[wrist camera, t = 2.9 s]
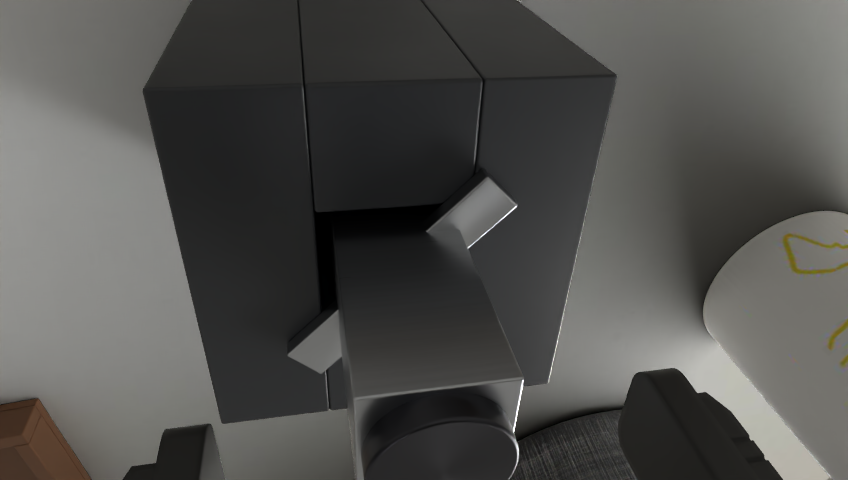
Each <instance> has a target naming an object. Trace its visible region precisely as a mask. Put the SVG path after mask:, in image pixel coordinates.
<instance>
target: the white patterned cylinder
mask: <svg viewBox="0 0 848 480" xmlns="http://www.w3.org/2000/svg"><path fill="white" fill-rule="evenodd" d="M703 319H704V324H705V327H706V329H707V331H708V332H709V334H710V335H711V336H712V337H713V338H714V340H715V341H716V342H717V343H718V344H719V345H720V347H721V348H722V349H723V350H724V351H725V353H726V354H727V355H728V356H729V357H730V359H731V360H732V361H733V362H734V363H735V365H736V366H737V367H738V368H739V369H740V371H741V372H742V373H743V374H744V375H745V376H746V378H747V379H748V380H749V381H750V382H751V384H752V385H753V386H754V387H755V388H756V390H757V391H758V392H759V393H760V394H761V396H762V397H763V398H764V399H765V400H766V402H767V403H768V404H769V405H770V406H771V408H772V409H773V410H774V411H775V412H776V413H777V415H778V416H779V417H780V418H781V419H782V421H783V422H784V423H785V424H786V425H787V427H788V428H789V429H790V430H791V431H792V433H793V434H794V435H795V436H796V437H797V439H798V440H799V441H800V442H801V443H802V444H803V446H804V447H805V448H806V449H807V450H808V452H809V453H810V454H811V455H812V456H813V458H814V459H815V460H816V461H817V462H818V464H819V465H820V466H821V467H822V468H823V470H824V471H825V472H826V473H827V474H828V475H829V477H830V478H831V479H832V480H848V215H847V214H844V213H841V212H836V211H817V212H810V213H805V214H801V215H798V216H795V217H792V218H789V219H787V220H784V221H782V222H780V223H777V224H776V225H774V226H772V227H770V228H768V229H766V230H765V231H763V232H761V233H760V234H758V235H757V236H755V237H754V238H752V239H751V240H750V241H749V242H747V243H746V244H745V245H744V246H742V247H741V248H740V249H739V250H738V251H737V252H736V253H735V254H734V255H733V256H732V257H731V258H730V259H729V260H728V261H727V262H726V263H725V264H724V266H723V267H722V268H721V270H720V271H719V272H718V274H717V275H716V277H715V278H714V280H713V282H712V284H711V286H710V288H709V290H708V292H707V295H706V298H705V302H704V307H703Z"/></svg>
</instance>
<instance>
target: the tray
mask: <svg viewBox="0 0 848 480" xmlns="http://www.w3.org/2000/svg"><path fill="white" fill-rule="evenodd" d="M0 480H91V478H90V477H89V475H88V474H87V472H86V471H85V469H84V467H83V466H82V464H81V463H80V461H79V460H78V458H77V457H76V455H75V454H74V452H73V451H72V449H71V448H70V446H69V445H68V443H67V442H66V440H65V439H64V437H63V436H62V434H61V433H60V431H59V430H58V428H57V426H56V425H55V423H54V422H53V420H52V419H51V417H50V416H49V414H48V413H47V411H46V410H45V408H44V407H43V405H42V404H41V402H40V401H39V399H38V398H36V399H31V400H25V401H19V402H14V403H8V404H3V405H0Z"/></svg>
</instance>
